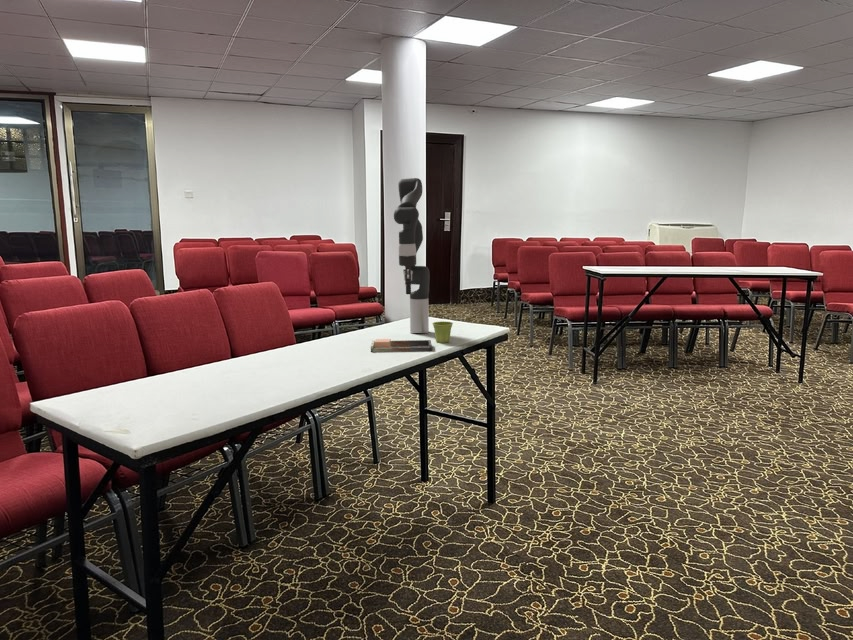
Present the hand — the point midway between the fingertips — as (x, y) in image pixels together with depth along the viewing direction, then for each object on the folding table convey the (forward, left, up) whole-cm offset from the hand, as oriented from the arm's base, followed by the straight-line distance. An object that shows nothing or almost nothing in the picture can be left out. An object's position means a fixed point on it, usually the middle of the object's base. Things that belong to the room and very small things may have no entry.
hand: (408, 294), depth 255 cm
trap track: (+5, -3, -23) cm, 24 cm away
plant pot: (-9, +16, -24) cm, 30 cm away
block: (+4, -12, -24) cm, 27 cm away
